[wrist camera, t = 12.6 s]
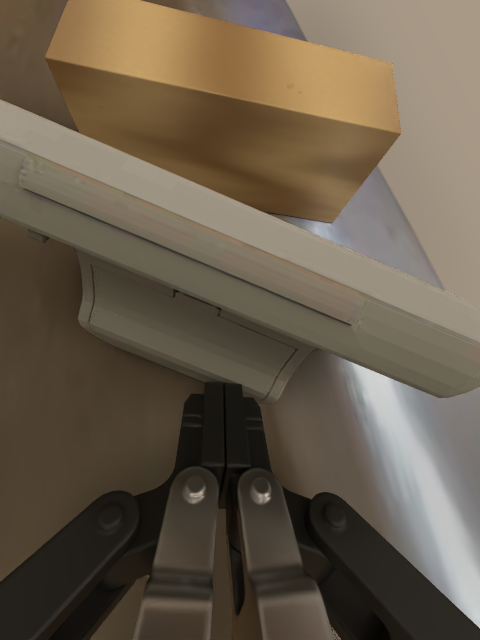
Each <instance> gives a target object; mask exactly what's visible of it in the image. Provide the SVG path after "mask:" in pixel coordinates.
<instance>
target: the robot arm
mask: <svg viewBox="0 0 480 640" xmlns="http://www.w3.org/2000/svg"><path fill="white" fill-rule="evenodd" d="M217 507H218V509H226V544H227V556H228V569H229V581H230V593H231V606H232V640H335V639H334V636H333V633H332V629H331V626H332V627H333V629H334V630H335V631H336V633H337V634H338V635H339V637H340V638H341V639H342V640H480V628H479V627H477V626H476V625H475V624H474V623H473V622H472V621H471V620H470V619H469V618H468V617H467V616H466V615H465V614H464V613H463V612H462V611H461V610H460V609H458V608H457V607H456V606H455V605H454V604H453V603H452V602H451V601H450V600H449V599H448V598H447V597H446V596H445V595H444V594H443V593H442V592H440V591H439V590H438V589H437V588H436V587H435V586H434V585H433V584H432V583H431V582H430V581H429V580H428V579H427V578H426V577H425V576H424V575H422V574H421V573H420V572H419V571H418V570H417V569H416V568H415V567H414V566H413V565H412V564H411V563H410V562H409V561H408V560H407V559H406V558H404V557H403V556H402V555H401V554H400V553H399V552H398V551H397V550H396V549H395V548H394V547H393V546H392V545H391V544H390V543H389V542H388V541H387V540H385V539H384V538H383V537H382V536H381V535H380V534H379V533H378V532H377V531H376V530H375V529H374V528H373V527H372V526H371V525H370V524H369V523H367V522H366V521H365V520H364V519H363V518H362V517H361V516H360V515H359V514H358V513H357V512H356V511H355V510H354V509H353V508H352V507H351V506H349V505H348V504H347V503H346V502H345V501H344V500H343V499H342V498H340V497H339V496H337V495H335V494H332V493H328V492H322V493H319V494H317V495H315V496H314V497H313V499H312V500H311V499H309V498H306V497H303V496H301V495H298V494H295V493H293V492H291V491H288V490H287V489H285V488H284V487H283V486H281V484H280V482H279V480H278V479H277V478H276V477H275V476H274V475H273V473H272V471H271V467H270V461H269V456H268V450H267V444H266V439H265V433H264V427H263V422H262V416H261V410H260V407H259V405H258V404H257V402H256V401H255V399H254V398H253V397H243V390H242V384H235V383H224V385H223V383H222V382H207V381H206V382H205V390H204V394H191V395H190V396H189V398H188V399H187V401H186V402H185V404H184V410H183V417H182V424H181V430H180V437H179V443H178V450H177V456H176V463H175V468H174V470H173V472H172V474H171V476H170V477H169V478H168V480H167V481H166V482H165V483H164V484H162V485H161V486H159V487H158V488H156V489H154V490H151V491H148V492H145V493H142V494H139V495H136V496H133V495H132V494H130V493H128V492H125V491H112V492H109V493H106V494H104V495H102V496H100V497H99V498H98V499H96V500H95V501H94V502H93V503H91V504H90V505H89V506H88V507H87V508H86V509H84V510H83V511H82V512H81V513H80V514H79V515H78V516H76V517H75V518H74V519H73V520H72V521H71V522H69V523H68V524H67V525H66V526H65V527H64V528H62V529H61V530H60V531H59V532H58V533H57V534H55V535H54V536H53V537H52V538H51V539H50V540H49V541H47V542H46V543H45V544H44V545H43V546H42V547H40V548H39V549H38V550H37V551H36V552H35V553H33V554H32V555H31V556H30V557H29V558H28V559H27V560H25V561H24V562H23V563H22V564H21V565H20V566H18V567H17V568H16V569H15V570H14V571H13V572H11V573H10V574H9V575H8V576H7V577H6V578H4V579H3V580H2V581H1V582H0V640H89V639H90V638H91V637H92V635H93V634H94V633H95V632H96V630H97V629H98V628H99V627H100V625H101V624H102V623H103V622H104V620H105V619H106V618H107V616H108V615H109V614H110V613H111V611H112V610H113V609H114V608H115V606H116V605H117V604H118V603H119V601H120V600H121V599H122V598H123V596H124V595H125V594H126V593H127V591H128V590H129V589H130V588H131V586H132V585H133V584H134V582H135V581H136V579H139V578H141V577H143V576H145V575H147V574H150V573H151V574H150V577H149V579H148V581H147V583H146V586H145V590H144V593H143V597H142V601H141V605H140V609H139V613H138V617H137V622H136V626H135V630H134V634H133V638H132V640H210V631H211V616H212V600H213V583H212V576H213V561H214V547H215V534H216V520H217ZM330 625H331V626H330Z"/></svg>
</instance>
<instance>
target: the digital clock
mask: <svg viewBox="0 0 480 640" xmlns="http://www.w3.org/2000/svg"><path fill="white" fill-rule="evenodd" d="M0 217H1V218H4V219H6V220H9V221H11V222H14V223H16V224H18V225H21V226H23V227H26V228H28V237H31V238H33V239H35V240H38V241H40V242H43V243H45V242H46V241H47V240H48V239H49V237H50V238H52V239H55V240H57V241H60V242H62V243H64V244H67V245H69V246H72V247H74V248H75V250H76V252H77V255H78V259H79V264H80V269H81V277H82V287H83V298H82V303H81V306H80V310H79V315H78V321H79V324H80V325H81V326H82V327H83V328H84V329H85V330H86V331H87V332H89V333H91V334H93V335H94V336H96V337H98V338H100V339H101V340H103V341H105V342H107V343H108V344H110V345H113V346H115V347H118V348H120V349H123V350H125V351H128V352H130V353H132V354H135V355H137V356H140V357H142V358H145V359H147V360H150V361H152V362H155V363H157V364H160V365H162V366H165V367H167V368H170V369H172V370H175V371H177V372H180V373H182V374H185V375H187V376H190V377H192V378H195V379H197V380H200V381H202V382H206V381H207V382H222V383H223V385H224V383H235V384H242V390H243V397H253V398H254V399H255V401H256V402H257V403H264V404H272V403H275V402H276V401H277V400H278V399H279V397H280V395H281V394H282V392H283V390H284V388H285V386H286V383H287V382H288V380H289V379H290V377H291V376H292V374H293V373H294V372H295V370H296V369H297V368H298V367H299V365H300V364H301V363H302V362H303V361H304V359H305V358H306V357H307V356H308V355H309V354H310V353H311V352H312V351H313V350H315V349H316V348H319V349H321V350H324V351H326V352H329V353H331V354H334V355H336V356H338V357H341V358H343V359H346V360H348V361H350V362H353V363H355V364H358V365H360V366H363V367H365V368H367V369H370V370H372V371H375V372H377V373H380V374H382V375H384V376H387V377H389V378H392V379H394V380H397V381H399V382H401V383H404V384H406V385H409V386H411V387H414V388H416V389H418V390H421V391H423V392H426V393H428V394H431V395H433V396H436V397H438V398H449V397H453V396H456V395H460V394H463V393H467V392H469V391H471V390H474V389H476V388H478V387H480V307H478V306H477V305H475V304H473V303H471V302H469V301H467V300H465V299H462V298H460V297H458V296H455V295H453V294H451V293H449V292H447V291H444V290H442V289H440V288H438V287H436V286H433V285H431V284H429V283H427V282H424V281H422V280H420V279H418V278H415V277H413V276H411V275H408V274H406V273H404V272H401V271H399V270H397V269H394V268H392V267H390V266H387V265H385V264H383V263H380V262H378V261H376V260H373V259H371V258H369V257H366V256H364V255H362V254H359V253H357V252H355V251H352V250H350V249H348V248H346V247H343V246H341V245H339V244H336V243H334V242H332V241H329V240H327V239H325V238H322V237H320V236H318V235H315V234H313V233H311V232H308V231H306V230H304V229H301V228H299V227H297V226H294V225H292V224H290V223H287V222H285V221H283V220H280V219H278V218H276V217H273V216H271V215H269V214H266V213H264V212H262V211H259V210H257V209H255V208H252V207H250V206H248V205H245V204H243V203H241V202H238V201H236V200H234V199H231V198H229V197H227V196H224V195H222V194H220V193H217V192H215V191H213V190H210V189H208V188H206V187H203V186H201V185H199V184H196V183H194V182H192V181H189V180H187V179H185V178H182V177H180V176H178V175H175V174H173V173H171V172H168V171H166V170H164V169H161V168H159V167H157V166H154V165H152V164H150V163H147V162H145V161H143V160H141V159H138V158H136V157H134V156H131V155H129V154H127V153H124V152H122V151H120V150H117V149H115V148H113V147H110V146H108V145H106V144H103V143H101V142H99V141H96V140H94V139H92V138H89V137H87V136H85V135H82V134H80V133H78V132H75V131H73V130H71V129H68V128H66V127H64V126H61V125H59V124H57V123H54V122H52V121H50V120H47V119H45V118H43V117H40V116H38V115H36V114H33V113H31V112H29V111H26V110H24V109H22V108H19V107H17V106H15V105H12V104H10V103H7V102H5V101H2V100H0Z"/></svg>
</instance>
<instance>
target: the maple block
mask: <svg viewBox="0 0 480 640" xmlns="http://www.w3.org/2000/svg"><path fill="white" fill-rule="evenodd" d="M45 59H46V61H47V63H48V65H49V68H50V70H51V72H52V74H53V76H54V78H55V81H56V83H57V85H58V87H59V89H60V92H61V94H62V96H63V98H64V100H65V103H66V105H67V107H68V109H69V111H70V114H71V116H72V118H73V120H74V122H75V124H76V127H77V129H78V131H79V133H80V134H82V135H85V136H87V137H89V138H92V139H94V140H96V141H99V142H101V143H103V144H106V145H108V146H110V147H113V148H115V149H117V150H120V151H122V152H124V153H127V154H129V155H131V156H134V157H136V158H138V159H141V160H143V161H145V162H147V163H150V164H152V165H154V166H157V167H159V168H161V169H164V170H166V171H168V172H171V173H173V174H175V175H178V176H180V177H182V178H185V179H187V180H189V181H192V182H194V183H196V184H199V185H201V186H203V187H206V188H208V189H210V190H213V191H215V192H217V193H220V194H222V195H224V196H227V197H229V198H231V199H234V200H236V201H238V202H241V203H243V204H245V205H248V206H250V207H252V208H255V209H257V210H259V211H263V212H269V213H275V214H281V215H287V216H293V217H299V218H306V219H312V220H318V221H324V222H330V223H332V222H333V221H334V220H335V218H336V217H337V216H338V215H339V213H340V212H341V211H342V209H343V208H344V207H345V206H346V204H347V203H348V202H349V200H350V199H351V198H352V197H353V195H354V194H355V193H356V191H357V190H358V189H359V187H360V186H361V185H362V184H363V182H364V181H365V180H366V178H367V177H368V176H369V175H370V173H371V172H372V171H373V169H374V168H375V167H376V166H377V164H378V163H379V162H380V160H381V159H382V158H383V156H384V155H385V154H386V153H387V151H388V150H389V149H390V147H391V146H392V145H393V143H394V142H395V141H396V140H397V138H398V137H399V136H400V135H401V127H400V120H399V112H398V104H397V97H396V89H395V82H394V74H393V67H392V63H390V62H385V61H382V60H377V59H374V58H369V57H366V56H362V55H357V54H354V53H350V52H346V51H341V50H337V49H333V48H329V47H325V46H321V45H317V44H313V43H309V42H305V41H301V40H297V39H293V38H289V37H285V36H281V35H277V34H273V33H269V32H265V31H261V30H257V29H253V28H249V27H245V26H241V25H237V24H233V23H229V22H225V21H221V20H217V19H213V18H209V17H205V16H201V15H197V14H193V13H189V12H185V11H181V10H176V9H172V8H168V7H164V6H160V5H156V4H152V3H148V2H144V1H140V0H68V2H67V4H66V7H65V9H64V12H63V14H62V16H61V19H60V21H59V24H58V26H57V29H56V31H55V33H54V36H53V38H52V41H51V43H50V45H49V48H48V50H47V53H46V55H45Z"/></svg>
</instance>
